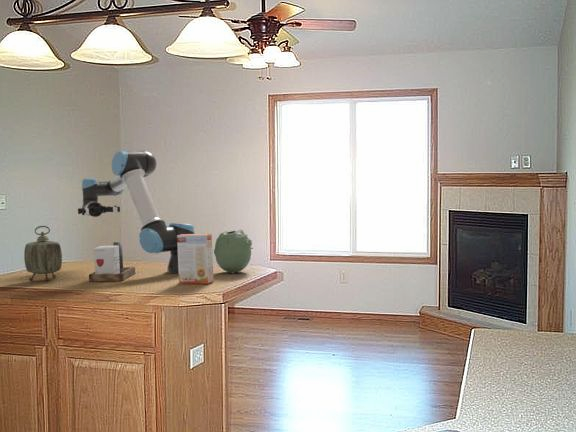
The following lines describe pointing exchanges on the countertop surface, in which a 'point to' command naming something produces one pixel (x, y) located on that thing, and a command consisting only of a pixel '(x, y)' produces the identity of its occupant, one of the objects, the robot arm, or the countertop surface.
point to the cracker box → (195, 258)
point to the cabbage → (233, 251)
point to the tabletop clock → (42, 256)
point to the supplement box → (107, 260)
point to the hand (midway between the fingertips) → (102, 210)
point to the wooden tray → (124, 273)
